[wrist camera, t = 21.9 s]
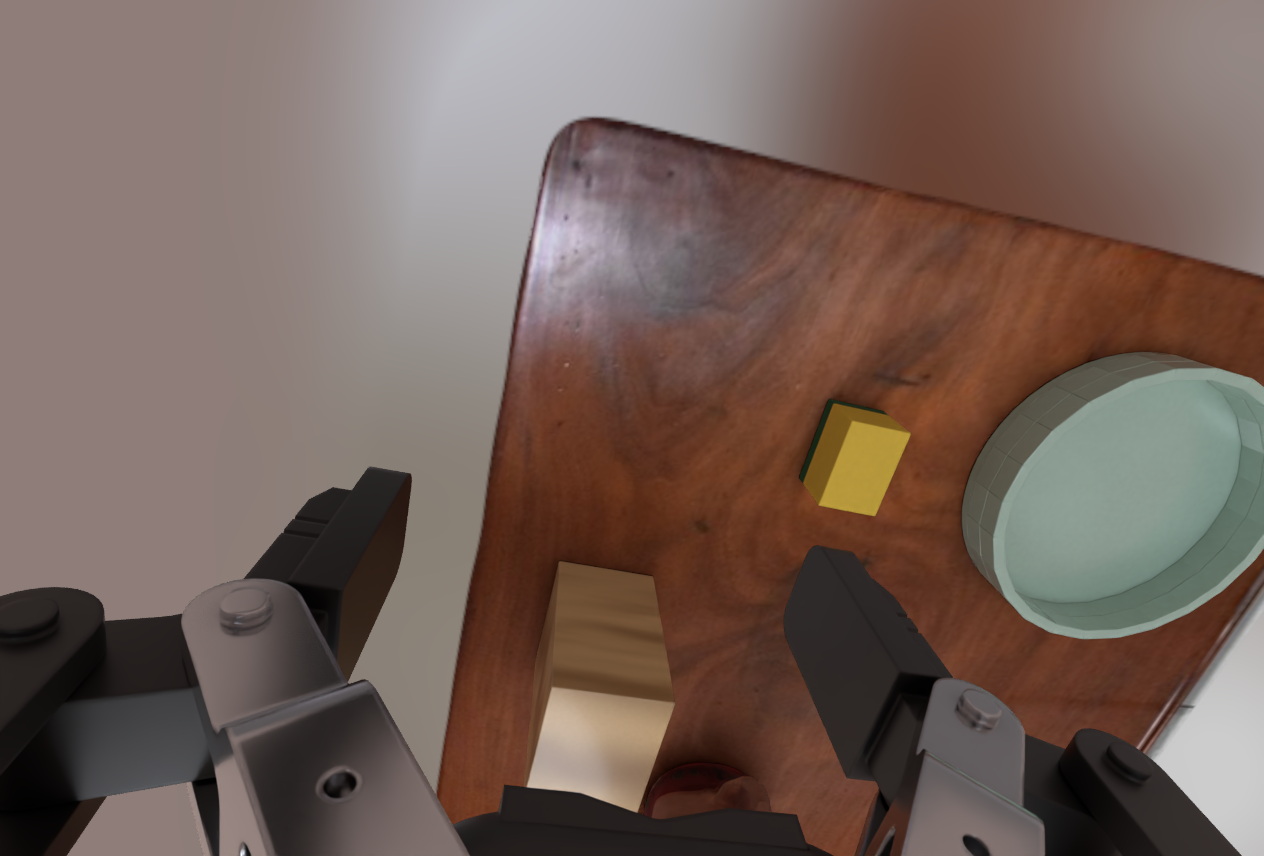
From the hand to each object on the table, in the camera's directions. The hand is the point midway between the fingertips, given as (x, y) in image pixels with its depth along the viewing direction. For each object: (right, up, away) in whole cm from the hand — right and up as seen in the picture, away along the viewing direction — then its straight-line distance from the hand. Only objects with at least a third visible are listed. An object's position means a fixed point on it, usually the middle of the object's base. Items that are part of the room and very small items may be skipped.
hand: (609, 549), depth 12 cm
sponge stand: (-2, -12, +35) cm, 37 cm away
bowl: (+35, -2, +34) cm, 48 cm away
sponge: (+15, +1, +31) cm, 34 cm away
